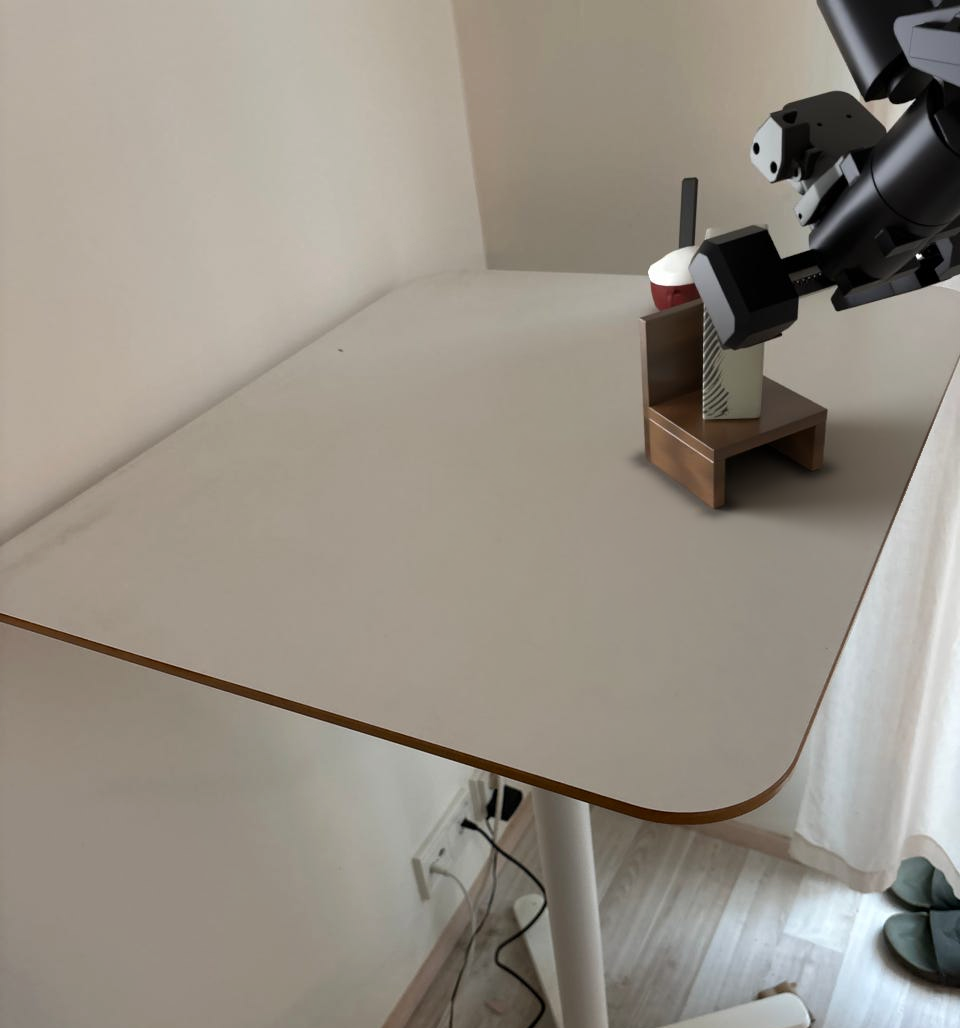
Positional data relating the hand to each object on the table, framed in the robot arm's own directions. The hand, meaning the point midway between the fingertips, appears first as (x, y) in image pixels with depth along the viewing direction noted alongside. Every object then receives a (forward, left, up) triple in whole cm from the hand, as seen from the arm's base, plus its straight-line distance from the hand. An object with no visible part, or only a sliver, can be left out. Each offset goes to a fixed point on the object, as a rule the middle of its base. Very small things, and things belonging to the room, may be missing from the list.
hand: (779, 323), depth 65 cm
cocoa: (+24, -30, -13) cm, 41 cm away
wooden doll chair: (+5, -2, -13) cm, 14 cm away
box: (+5, -2, -8) cm, 10 cm away
